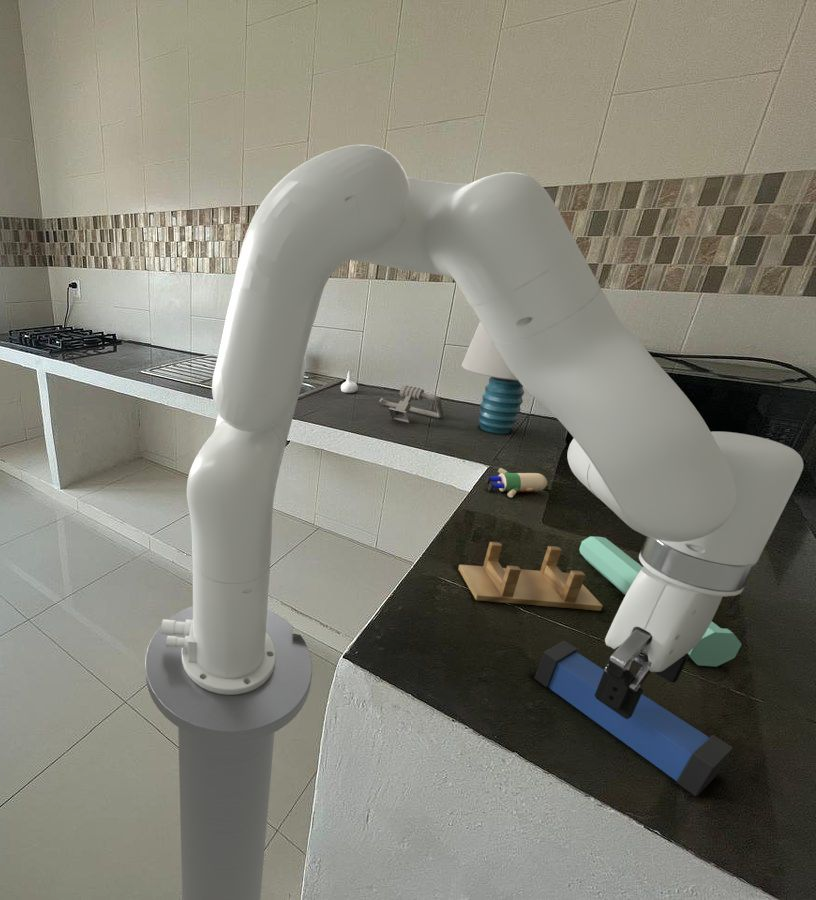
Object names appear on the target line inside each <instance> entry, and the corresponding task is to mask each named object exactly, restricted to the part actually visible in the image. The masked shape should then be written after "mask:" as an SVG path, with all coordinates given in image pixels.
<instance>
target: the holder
mask: <svg viewBox="0 0 816 900" xmlns="http://www.w3.org/2000/svg"><path fill="white" fill-rule="evenodd" d="M502 548H503V545H502V543H501V542H498V541H489V543H488V547H487V550H486V554H485V558H484V561H483V564H482V565H472V564H471V565H470V564H459V565H458V567H457V569H458V572H459V573H460V575H461V576H462V578H463V580H464V582H465V583H466V586H467V587H468V589H469V591H470V592H471V594H472V596H473V598H474V600H475V601H479V602H480V601H481V602H491V603H493V602H494V603H503V604H504V603H505V604H515V605H526V606H527V605H528V606H540V607H550V608H562V609H563V608H564V609H572V610H573V609H574V610H575V609H576V610H587V611H597V612H598V611H599V612H600V611H602V610H603V604H602V603H601V602H600V601H599V599H597V598H596V597H595V596H594V594H593V593H592V592H591V591H590V590H589V589H588V588H587V587H586V585H584V581H585V578H586V574H585V572H583V571H581V570H570V572H562V570H561V569H560V568H559V567H558V566H557V565H558V562H559V559H560V556H561V554H562V551H563V550H562V549H561V548H560V547H559V546H555V545H554V546H553V545H547V549H546V551H545V554H544V557H543V560H542V564H541V567H540V570H533V569H521V568H520V567H519V566H518V565H506V567H503V566H502V565H501V564H500V562H499V559H500V555H501V552H502Z"/></svg>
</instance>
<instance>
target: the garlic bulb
mask: <svg viewBox="0 0 816 900" xmlns="http://www.w3.org/2000/svg"><path fill="white" fill-rule="evenodd" d="M340 391H341V392H342V393H345V394H353V393H356V392H357V391H358V384H357V383H356V382H355V381H354V380H353V378H352V371H350V370H348V371H347V375H346V381H344V382H342V384H341V385H340Z"/></svg>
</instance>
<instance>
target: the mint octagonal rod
mask: <svg viewBox="0 0 816 900" xmlns="http://www.w3.org/2000/svg"><path fill="white" fill-rule="evenodd" d="M579 553H580V555H581V556H582V557H583V558H584V559H585V561H586V562H588V563H589V565H590V566H592V567H593V568H594V569H595V570H596V571H597V572H599V573H600V574H601V575H602V576H603V577H604V578H605V579H607V580H608V581H609V582H610V584H613V586H614V587H615V588H617V590H618V591H620V592H621V593H622V594H623V595H626V593H627V592H628V590H629V588H630V586H631V584H632V583H633V581H634V579H635V578H636V576H637V575H638V573H639V572H640V570H641V569H642V568H643V565H642V564H640V563H639V562H637V561H636V560H634V559H633V558H632V557H631V556H629V555H628V554H627V553H626V552H624V551H623V550H622V549H621V548H619V547H618V546H617V545H615V544H614V543H613V542H612V541H610V540H609V539H607V538H606V537H603V536H593V535H592V536H590V535H589V536H588V537H586V538H585V539H583V540H581V542H580V546H579ZM742 645H743V644H742V642H741V641H740V640H739V638H738V637H737V636H736V634H735V633H734V632H732V631H731V630H730V629H729V628H721V627H720V626H718V624H716V623H715V622H713V620H712V621H711V623H710V625H709V627H708V629H707V631H706V632H705V634H704V636H703V637H702V639H701V640H700V642H699V643H698V644H697V645H696V646H695V647H694V648H693V649H692V650H690V651H689V652H688V653H686V654H688V655H689V658H690V659H691V660H692V661H693V662H694V663H695V664H696V665H697V666H702V667H704V666H705V667H716V668H717V667H719V666H721V665H723V664H726V663H727V662H729V661H731V660H733V659H736V657H737V654H738V653H739V650H740V649H741V647H742Z"/></svg>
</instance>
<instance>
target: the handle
mask: <svg viewBox="0 0 816 900" xmlns="http://www.w3.org/2000/svg"><path fill="white" fill-rule="evenodd" d="M577 651H578V648H577V647H575V645H573V644H571V643H570V642H567V641H566V640H563V641H561V642H559V643H557V644H556V645H553V646H552V647H550V648H549V649H547V650H545V651H544V652H543V653H542V656H541V659H540V662H539V665H538V667H537V669H536V673H535V676H534V680H536V681H537V682H538V683H540V684H541V685H542V686H544V687H545V688H548V689H549V690H551V691H552V692H553V693H554V694H556V695H558V696H559V697H561V698H562V699H563V700H564V701H566V702H567V703H569V704H570V705H572V707H574V708H576V710H578V711H580V712H581V713H582V714H584V715H585V716H586V717H588V718H589V719H591V720H592V721H594V722H595V723H596V724H597V725H599V726H600V727H602V728H603V729H605V730H606V731H607V732H609V733H610V734H611V735H613V736H614V737H615V738H617V739H618V740H619V741H621V742H622V743H623V744H625V745H626V746H627V747H629V748H630V749H632V750H633V751H634V752H636V753H637V754H638V755H640V756H641V757H643V758H644V759H645V760H647V761H648V762H650V763H651V764H653V765H654V766H655V767H656V768H658V769H659V770H660V771H661V772H663V773H665V775H667V776H668V777H670V778H672V779H673V780H674V781H675V782H676V784H678V785H679V786H680V787H682V788H683V789H685V790H686V791H687V792H689V793H690V794H691V795H692V796H694V797H698V796H699V795H700V794H701V793H702V792H703V791H704V790H705V789H706V788H707V786H709V784H710V783H711V782H713V781H714V779H716V778H717V776H718V774H719V773H720V771H721V769H722V768H723V766H724V764H725V762H726V761H727V760H728V758H729V756H730V755H731V753H732V751H733V750H734V747H733V746H732V745H730V744H729V743H727V742H725V741H724V740H722V739H720V738H719V737H717V736H716V735H714V734H712V735H711V736H710V737H709V736H708V735H706V734H705V733H704V732H702V731H700V730H699V729H697V728H695V727H694V726H692V725H691V724H690V723H688V722H686V721H684V720H683V719H682V718H680V717H679V716H677V715H675V714H674V713H672V712H671V711H669V710H667V709H666V708H665V707H663V706H661V705H659V704H658V703H657V702H655V701H653V700H652V699H650V698H649V697H647V696H645V695H644V694H642V695H641V697H640V699H639V701H638V703H637V706H636V708H635V710H634V712H633V715H632V716H631V717H630V718H629V719H626V718H624V717H622V716H621V715H619V714H618V713H616V712H615V711H613V710H612V709H610V708H609V707H608V706H606V705H605V704H603V703H602V702H600V701H599V700H597V699H596V697H595V693H596V690H597V688H598V685H599V683H600V680H601V678H602V675H603V673H604V669H603V668H602V667H600V666H599V665H598V664H596V663H594V662H592V661H591V660H590V659H588V658H586V656H584V655H582V654H580V653H579V652H577Z"/></svg>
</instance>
